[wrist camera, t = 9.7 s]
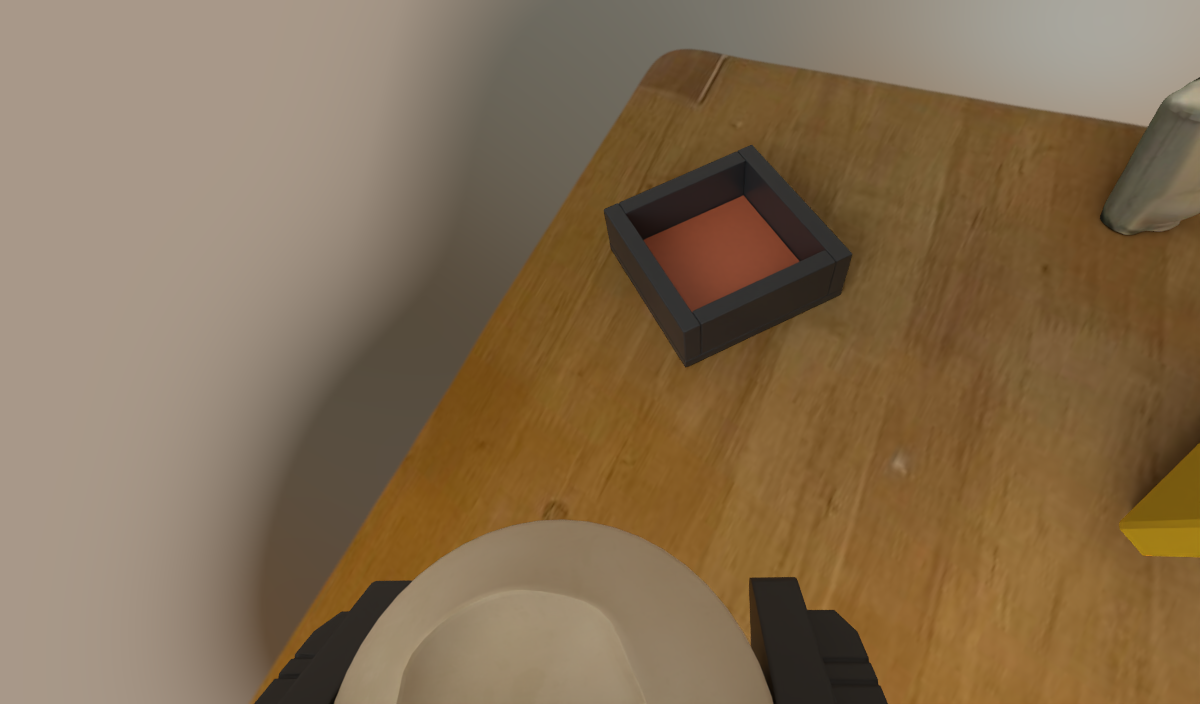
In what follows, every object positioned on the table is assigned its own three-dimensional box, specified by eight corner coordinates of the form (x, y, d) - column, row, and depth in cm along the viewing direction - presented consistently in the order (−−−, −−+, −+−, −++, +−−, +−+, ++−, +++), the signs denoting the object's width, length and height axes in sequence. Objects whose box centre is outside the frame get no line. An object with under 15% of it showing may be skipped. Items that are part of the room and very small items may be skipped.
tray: (685, 368, 36) (683, 332, 33) (610, 248, 41) (603, 208, 38) (841, 294, 37) (853, 254, 34) (748, 187, 42) (751, 144, 39)
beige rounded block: (1093, 161, 39) (1173, 39, 32) (1196, 178, 38) (1303, 53, 31) (1086, 229, 37) (1171, 113, 30) (1195, 250, 35) (1311, 132, 28)
